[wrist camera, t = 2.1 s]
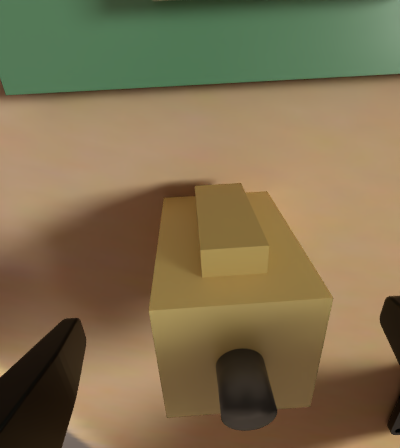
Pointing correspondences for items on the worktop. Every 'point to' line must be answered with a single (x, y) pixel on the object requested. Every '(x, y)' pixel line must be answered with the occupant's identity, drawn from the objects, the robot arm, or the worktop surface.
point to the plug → (234, 308)
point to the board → (191, 42)
